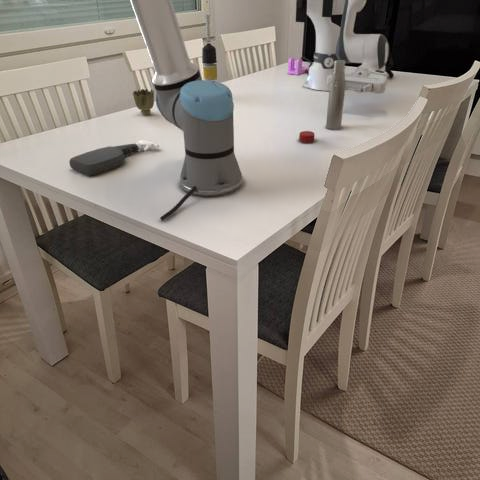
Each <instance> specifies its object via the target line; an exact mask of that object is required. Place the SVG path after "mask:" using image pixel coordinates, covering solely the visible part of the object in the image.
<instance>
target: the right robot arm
mask: <svg viewBox="0 0 480 480" xmlns="http://www.w3.org/2000/svg"><path fill="white" fill-rule="evenodd" d="M366 3H367V0H333V10H332V16H335V15H338V16H339V15H342V17H341V22H340V26H339V25H338V24H336V23H334V22H332V17H322V8H323V0H307V16H308V17H309V18H310V20H311V22H312V24H313V26H314V30H315V51H314V53H313V62H312V61H311V60H310V59H308V58H307V57H306V56H301V57H300V59H302V60H303V59H304V60H306V61H307V62H308V63H310V64H309V65H308V67H309V71H308V70H306V72H305V73H306V74H308V77H307V79H306V82H304V84H303V87H304V88H307V89H311V90H316V91H323V92H324V91H325V92H329V87H330V80H331V77H332V74H333V71H334V61H335V60H344V61H346V62H345V64H354V63H355V64H361V65H359V66H357V67H355V68H354V69H353V70H352V71H351V72H350V73H346V67H345V68H344V72H345V81H346V82H345V90H351V91H354V92H356V93H360V94H363V93H364V94H366V93H372V94H378V95H379V94H384V93H385V91H386V88H387V84H388V83H387V82H388V73H387V72H385V64H386V65H387V63H388V62H389V61H388V57H389V52H390V43H389V41H388V39H387V37H386V36H385V35H384V34H382V33H355V32H354V28H355V22H356V17H357V13H359V12H361V11H362V10H363V9H364V7H365V6H366Z"/></svg>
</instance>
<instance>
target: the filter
mask: <svg viewBox="0 0 480 480" xmlns="http://www.w3.org/2000/svg"><path fill="white" fill-rule="evenodd" d="M210 17H211V14H204V18H205V27H206V29H205V30H206V31H205V33H206V39H207V40H206V42H207V43H206V45H204V46H202V49H201V50H202V51H201V52H202V54H201V55H202V57H201V58H202V61H201V63H202V71H203V72H202V73H203V74H202V75H203V80H208V81H212V82H216V80H218V64H216V63H218V61H217V48H216V47H215V46H214V45H212V43H210V42H211V40H210V39H211V31H210V29H211V28H210Z"/></svg>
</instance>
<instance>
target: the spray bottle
mask: <svg viewBox="0 0 480 480" xmlns="http://www.w3.org/2000/svg"><path fill="white" fill-rule="evenodd" d="M159 148H160V145H159V144H158V143H155V142H151V141H148V140H144V139H139V140H138V141H137V142H135V143H129V144H128V143H126V144H122V145H113V146H105V147H100V148H97V149H94V150H90V151H87V152H83V153H81V154H78V155H74V156H73V157H70V159H69V161H68V162H69V167H70V168H71V169H72V170H74V171H75V172H78V173H81V174H83V175H85V176H89V177H90V176H91V177H92V176H95V175H99V174H102V173H105V172H107V171H110V170H113V169H116V168H118V167H120V166H122V165H123V164H124V163H125V158H126V156H127V155H131V154H133V153H138V151H140V150H143V151H144V152H146V151H147V150H149V149H159Z"/></svg>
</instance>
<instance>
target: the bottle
mask: <svg viewBox="0 0 480 480" xmlns="http://www.w3.org/2000/svg"><path fill="white" fill-rule="evenodd" d="M345 62H346V61H344V60H335V61H334V71H333V74H332V77H331V80H330V87H329V91H328V99H327V109H326V110H327V112H326V122H325V128H326V129H327V130H331V131H332V130H333V131H337V130H341V128H342V122H343V111H344V102H345V92H346V89H345V82H346V81H345V74H346V71H345V72H344V68H346V63H345Z"/></svg>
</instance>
